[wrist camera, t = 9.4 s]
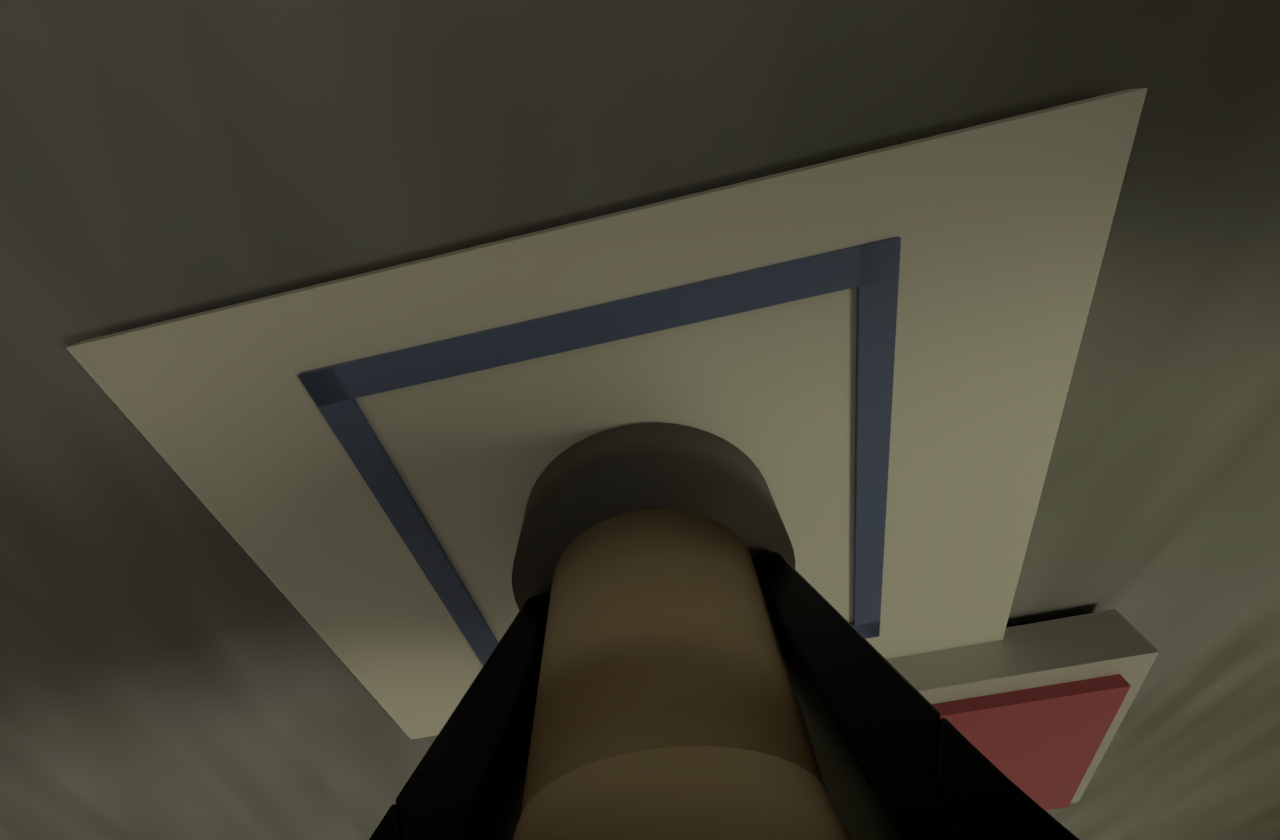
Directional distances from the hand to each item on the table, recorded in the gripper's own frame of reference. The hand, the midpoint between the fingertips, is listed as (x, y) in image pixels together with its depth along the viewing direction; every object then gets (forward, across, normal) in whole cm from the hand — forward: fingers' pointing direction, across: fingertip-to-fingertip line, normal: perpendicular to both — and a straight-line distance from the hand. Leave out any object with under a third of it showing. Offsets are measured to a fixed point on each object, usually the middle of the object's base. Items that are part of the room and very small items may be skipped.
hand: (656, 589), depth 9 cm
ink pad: (+2, -6, +10) cm, 12 cm away
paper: (+2, 0, 0) cm, 2 cm away
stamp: (+2, 0, 0) cm, 2 cm away
